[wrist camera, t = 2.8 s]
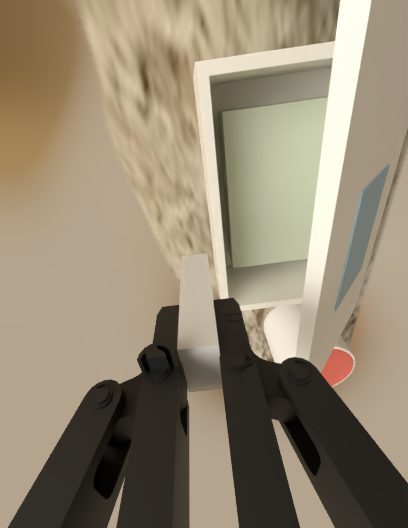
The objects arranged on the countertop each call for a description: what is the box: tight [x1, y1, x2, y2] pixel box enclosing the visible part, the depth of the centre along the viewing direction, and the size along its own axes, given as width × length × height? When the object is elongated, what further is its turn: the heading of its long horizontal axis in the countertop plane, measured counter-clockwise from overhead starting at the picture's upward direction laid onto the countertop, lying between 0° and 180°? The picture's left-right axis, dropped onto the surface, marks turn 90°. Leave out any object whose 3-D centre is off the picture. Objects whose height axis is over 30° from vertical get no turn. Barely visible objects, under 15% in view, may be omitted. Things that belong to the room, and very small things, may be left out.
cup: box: [264, 303, 355, 387], centre depth 37 cm, size 10×10×10 cm
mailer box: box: [193, 41, 335, 311], centre depth 25 cm, size 14×22×9 cm, turn 7°
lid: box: [295, 0, 408, 373], centre depth 16 cm, size 14×23×1 cm
